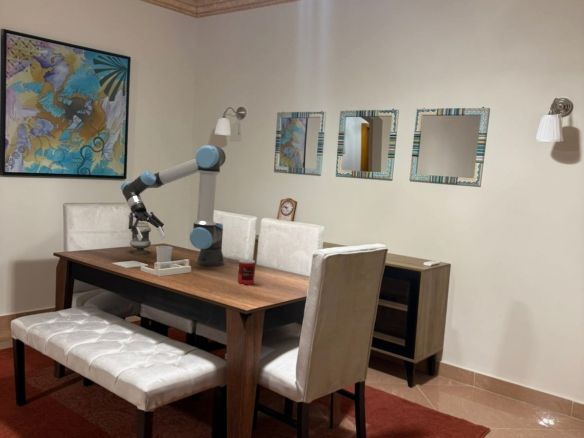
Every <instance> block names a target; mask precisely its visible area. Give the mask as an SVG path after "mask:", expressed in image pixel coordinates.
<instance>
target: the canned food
mask: <svg viewBox="0 0 584 438" xmlns="http://www.w3.org/2000/svg"><path fill="white" fill-rule="evenodd" d="M255 272H256V260H254V259H249V258H248V259H247V258H246V259H245V258H244V259H243V258H242V259H239V260H238V271H237V273H238V274H237V275H238V276H237V282H238V284H239V285H241V284H244V285H243V286H251V285H250V284H253V285H254V283H255V274H256V273H255Z"/></svg>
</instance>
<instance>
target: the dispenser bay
mask: <svg viewBox="0 0 584 438" xmlns="http://www.w3.org/2000/svg"><path fill="white" fill-rule="evenodd" d="M181 264H182V265H181ZM163 265H170V268H165V269H160V266H163ZM153 267H154V268H150V267H148V266H141V267H140V271H141V272H145V273H147V274H151V275H154V276H156V277H164V276H172V275H181V274H187V273H192V266H191V265H190V259H187V258H186V259H180V260H173V261H172V260H171V261H170V262H161V263H159V262H157V261H156V262H154V266H153Z"/></svg>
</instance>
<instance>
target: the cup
mask: <svg viewBox="0 0 584 438" xmlns="http://www.w3.org/2000/svg"><path fill="white" fill-rule="evenodd" d="M155 249H156V263H157V262H159V263H161V262H170V261H172V254H173V247H172V246H167V245H159V246H156V248H155ZM165 268H171V267H170V265H163V266H160V269H165Z"/></svg>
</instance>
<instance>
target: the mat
mask: <svg viewBox="0 0 584 438" xmlns="http://www.w3.org/2000/svg"><path fill="white" fill-rule="evenodd" d="M112 265H115V266H119V267H122V268H125V269H130V268H132V269H133V268H139V267H140V268H141V266H144V267H148V266H149V264H147V263H144V262H141V261H136V260H130V261H129V260H127V261H120V262H119V261H118V262H112Z"/></svg>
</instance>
